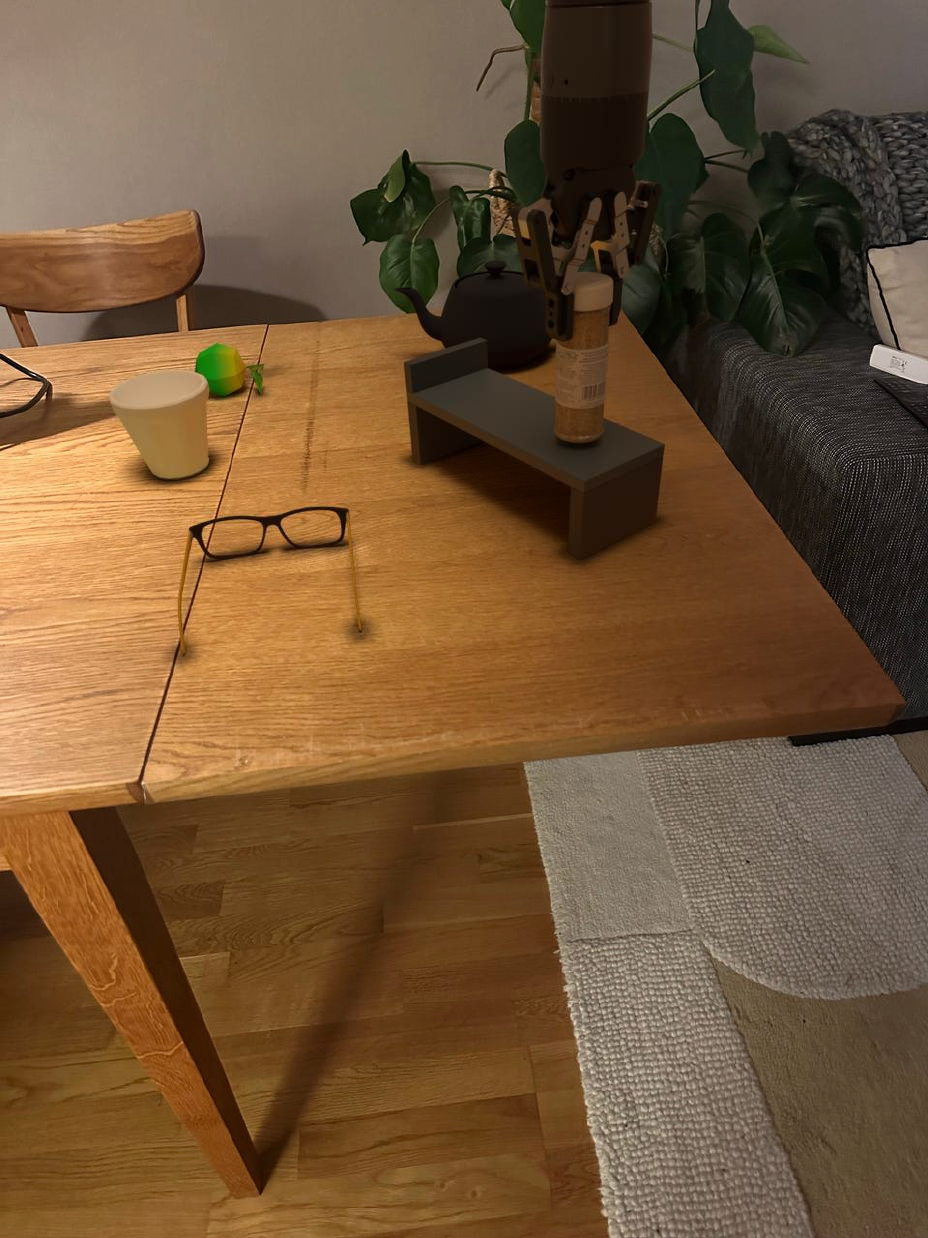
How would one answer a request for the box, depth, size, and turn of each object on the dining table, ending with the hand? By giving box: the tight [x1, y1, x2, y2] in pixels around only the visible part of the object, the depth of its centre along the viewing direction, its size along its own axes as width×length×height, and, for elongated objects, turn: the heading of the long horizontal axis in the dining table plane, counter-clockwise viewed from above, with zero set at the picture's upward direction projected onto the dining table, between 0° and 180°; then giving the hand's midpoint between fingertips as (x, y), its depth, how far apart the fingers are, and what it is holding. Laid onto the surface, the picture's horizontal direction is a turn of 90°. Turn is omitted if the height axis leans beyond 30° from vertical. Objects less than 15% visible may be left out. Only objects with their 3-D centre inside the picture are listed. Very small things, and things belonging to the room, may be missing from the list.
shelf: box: [403, 338, 666, 561], centre depth 79 cm, size 26×10×11 cm, turn 38°
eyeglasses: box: [177, 505, 362, 654], centre depth 69 cm, size 14×14×4 cm
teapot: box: [393, 259, 553, 370], centre depth 108 cm, size 25×16×12 cm, turn 93°
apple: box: [194, 342, 265, 397], centre depth 104 cm, size 7×6×9 cm
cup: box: [107, 369, 210, 481], centre depth 86 cm, size 10×10×9 cm
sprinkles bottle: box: [554, 271, 613, 443], centre depth 68 cm, size 5×5×14 cm
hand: (583, 330), depth 67 cm, fingers closed on sprinkles bottle, 4 cm apart
